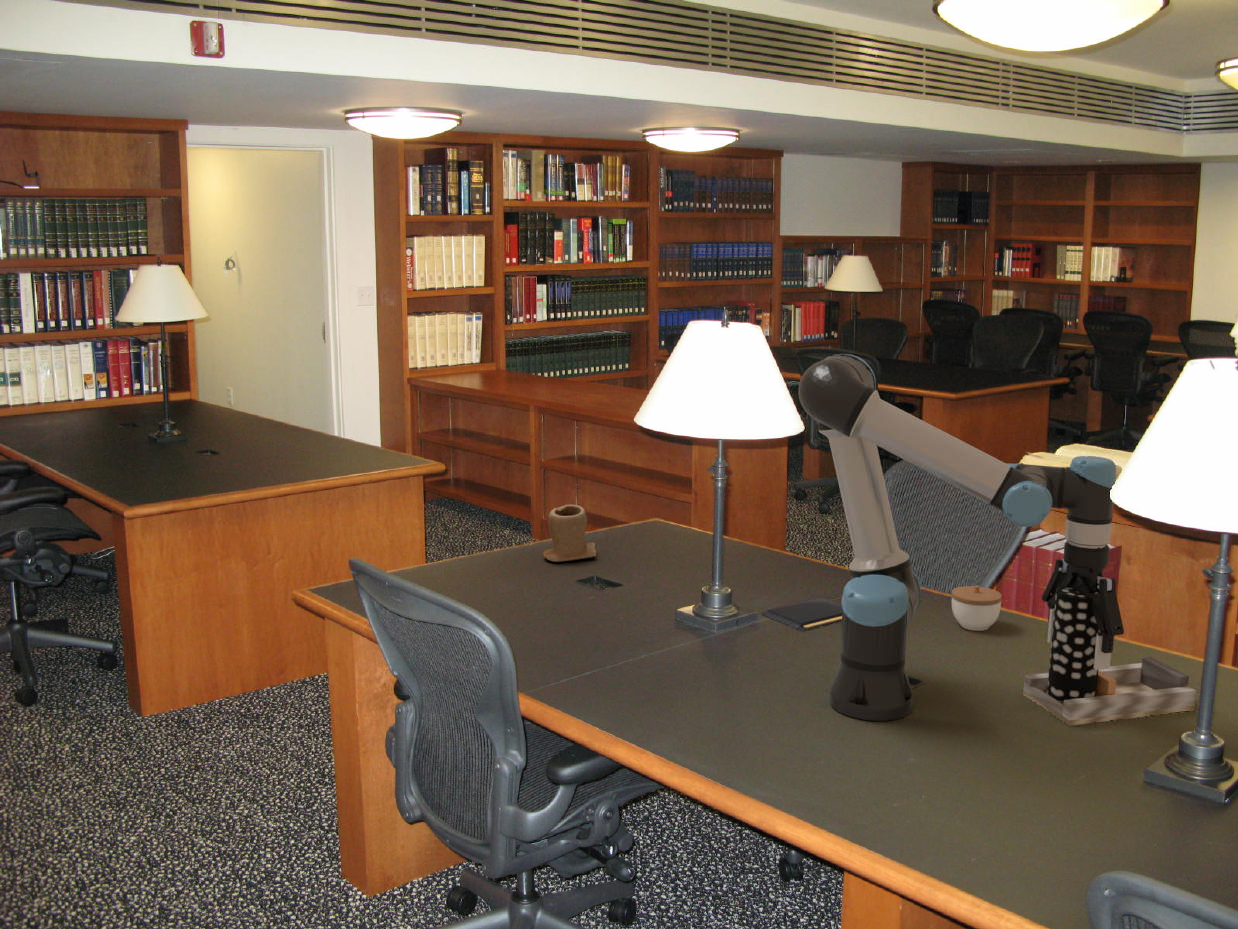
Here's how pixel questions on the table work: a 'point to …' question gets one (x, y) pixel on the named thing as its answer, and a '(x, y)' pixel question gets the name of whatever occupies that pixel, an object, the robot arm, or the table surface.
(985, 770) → the table surface
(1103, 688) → the block
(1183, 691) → the marbled beige tray
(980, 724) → the table surface
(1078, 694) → the white-spotted black cylinder
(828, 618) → the dark navy book
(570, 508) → the stone cup
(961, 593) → the lidded jar
